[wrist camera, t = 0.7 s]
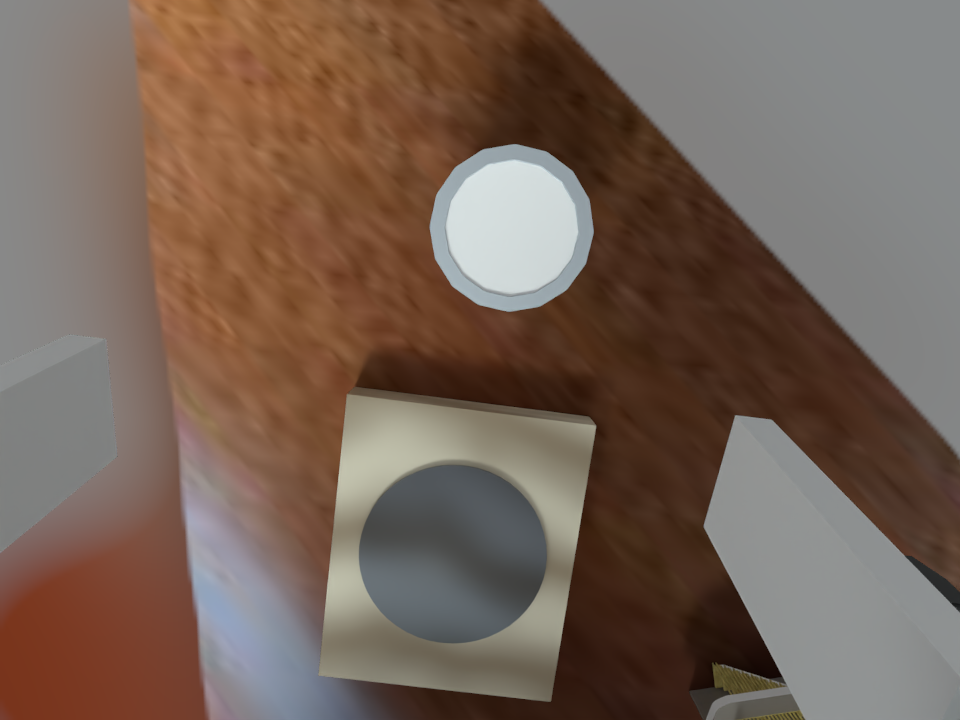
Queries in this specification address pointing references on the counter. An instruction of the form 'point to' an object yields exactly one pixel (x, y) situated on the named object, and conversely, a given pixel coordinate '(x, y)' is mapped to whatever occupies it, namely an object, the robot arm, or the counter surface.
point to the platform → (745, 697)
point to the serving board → (453, 543)
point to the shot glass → (511, 227)
